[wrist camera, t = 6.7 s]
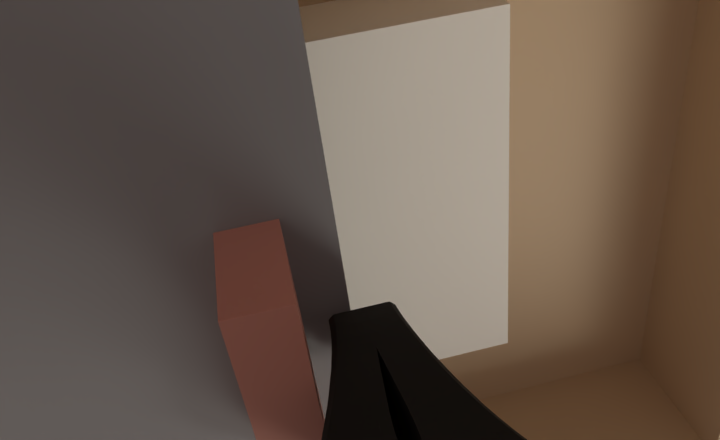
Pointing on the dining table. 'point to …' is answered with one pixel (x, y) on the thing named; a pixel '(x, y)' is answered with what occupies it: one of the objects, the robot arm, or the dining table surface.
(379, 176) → the mailer box
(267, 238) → the mailer lid
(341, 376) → the robot arm
